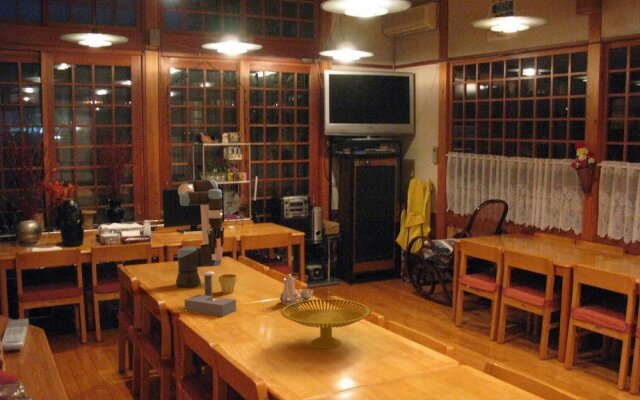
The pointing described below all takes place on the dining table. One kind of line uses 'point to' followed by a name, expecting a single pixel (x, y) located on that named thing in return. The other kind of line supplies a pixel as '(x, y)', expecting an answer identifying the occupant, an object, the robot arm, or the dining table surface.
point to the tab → (218, 248)
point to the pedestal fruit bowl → (325, 318)
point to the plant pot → (227, 282)
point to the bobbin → (208, 282)
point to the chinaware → (293, 292)
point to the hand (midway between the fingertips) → (216, 258)
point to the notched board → (210, 305)
